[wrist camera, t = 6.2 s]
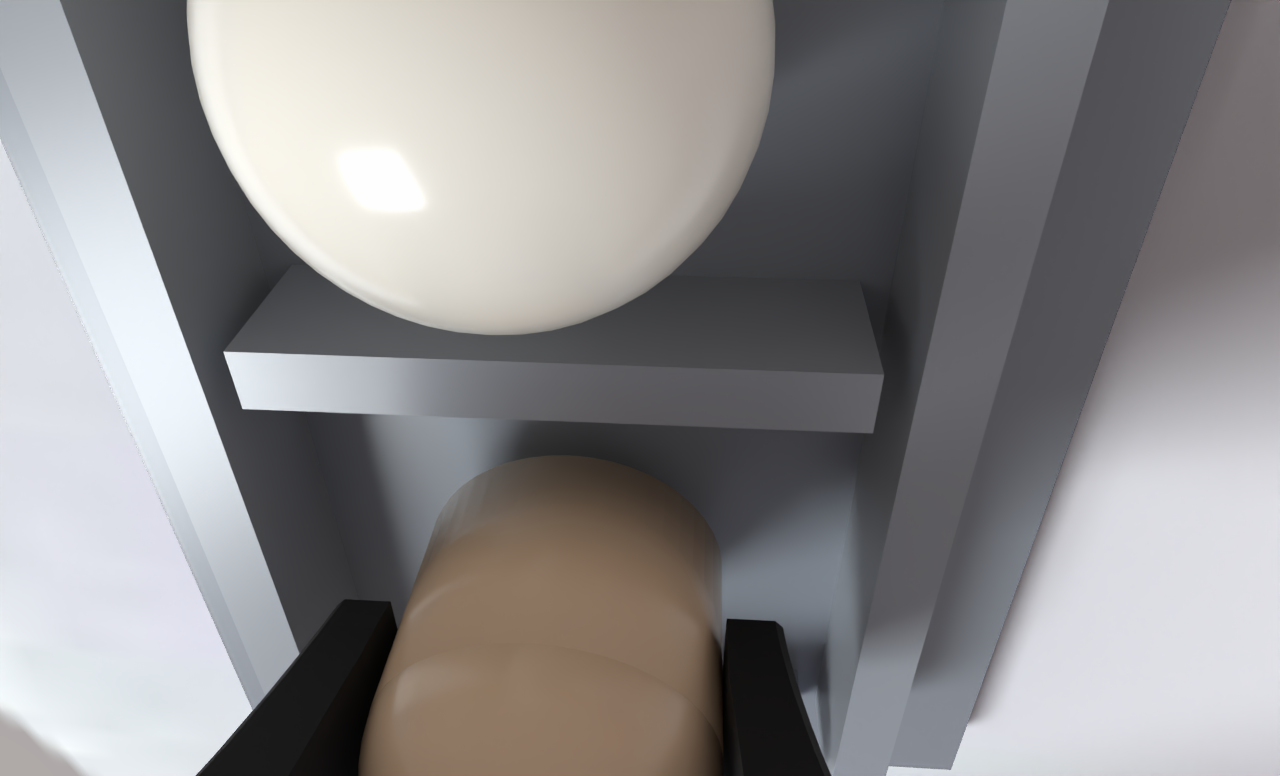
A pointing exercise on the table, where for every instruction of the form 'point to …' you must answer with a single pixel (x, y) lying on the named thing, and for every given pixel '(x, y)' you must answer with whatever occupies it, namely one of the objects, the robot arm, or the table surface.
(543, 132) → the seated egg
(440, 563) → the loose egg
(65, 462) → the table surface
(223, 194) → the carton
